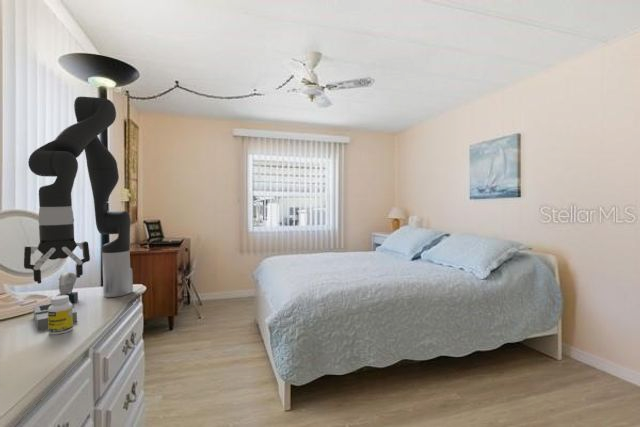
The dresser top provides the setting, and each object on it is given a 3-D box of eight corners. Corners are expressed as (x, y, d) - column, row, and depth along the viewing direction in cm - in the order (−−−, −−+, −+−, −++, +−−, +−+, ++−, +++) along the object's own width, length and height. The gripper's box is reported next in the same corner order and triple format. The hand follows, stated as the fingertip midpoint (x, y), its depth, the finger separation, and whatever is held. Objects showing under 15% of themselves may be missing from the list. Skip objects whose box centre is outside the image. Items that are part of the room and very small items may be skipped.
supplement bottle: (44, 336, 87) (42, 300, 87) (54, 328, 92) (53, 295, 92) (67, 333, 89) (66, 299, 88) (76, 326, 94) (75, 293, 93)
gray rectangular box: (32, 312, 106) (32, 301, 106) (66, 306, 112) (66, 295, 112) (37, 330, 91) (37, 317, 91) (77, 321, 98) (76, 309, 97)
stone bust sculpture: (79, 298, 122) (78, 269, 121) (72, 304, 114) (71, 274, 114) (61, 300, 119) (60, 271, 119) (53, 306, 112) (52, 275, 112)
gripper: (85, 220, 97) (87, 273, 98) (21, 223, 87) (24, 282, 88) (90, 222, 92) (92, 277, 92) (22, 225, 82) (25, 287, 82)
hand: (59, 280), depth 90 cm, fingers open, 8 cm apart
